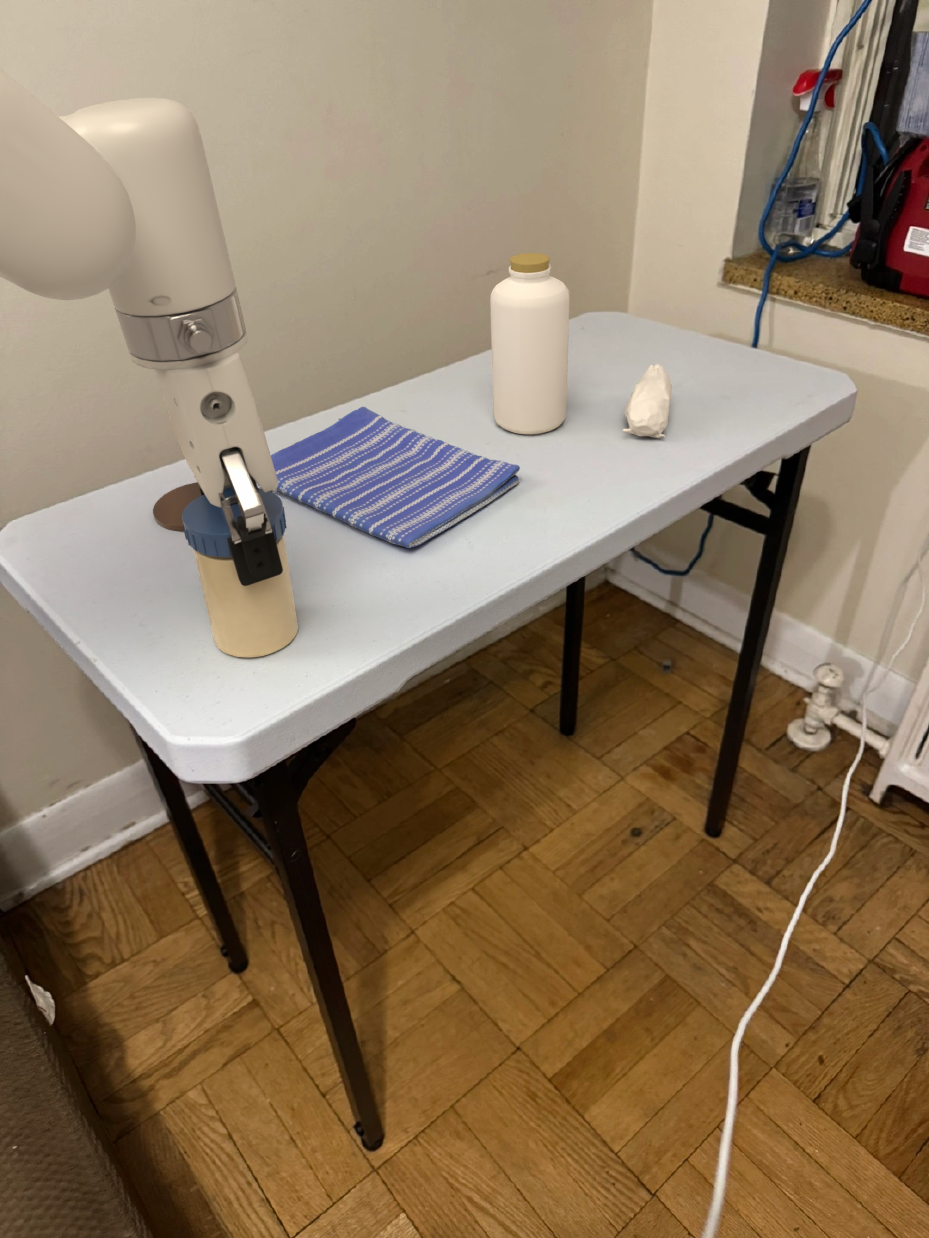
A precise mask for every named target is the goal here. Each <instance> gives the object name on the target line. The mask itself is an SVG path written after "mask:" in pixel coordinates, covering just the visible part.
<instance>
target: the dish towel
mask: <svg viewBox="0 0 929 1238" xmlns="http://www.w3.org/2000/svg"><path fill="white" fill-rule="evenodd" d="M270 455H271V458H272V462H273V465H274V469H275V473H276V476H277V480H278V487H277V489H276V490H275V491H277V492H280V493H282V494H284V495H286V496H288V497H290V498H291V499H294V500H297V501H298V502H299V503H302V504H306V505H308V506H309V507H312V508H314V509H316V510H317V511H319V512H322V513H325V514H327V515H330V516H331V517H333V518H334V519H337V520H339V521H341V522H344V523H346V524H348V525H349V526H351V527H353V528H355V529H358V530H360V531H362V532H365V533H367V534H369V535H370V536H373V537H376V538H379V539H380V540H382V541H386V542H388V543H390V544H394V545H397V546H400V547H403V548H405V549H406V548H407V549H410V548H415V547H418V546H420V545H422V544H424V543H425V542H427V541H429V540H431V539H433V538H434V537H436V536H437V535H439V534H441V533H443V532H445V531H446V530H448V529H449V528H451V527H453V526H454V525H456V524H458V523H459V522H460V521H462V520H464V519H466V518H467V517H469V516H471V515H472V514H474V513H475V512H477V511H478V510H480V509H482V508H483V507H485V506H487V505H488V504H490V503H491V502H493V501H494V500H495V499H497V498H498V497H500V496H502V495H503V494H505V493H506V492H508V490H510V489H512V488H513V487H515V486H516V485H518V484H519V483H520V478H519V476H518V475H517V474H518V472H519V471H520V470H521V467H520V465H519V464H513V463H509V462H508V461H507V462H506V461H504V460H498V459H497V460H496V459H489V458H487V457H486V456H482V455H478V454H475V453H473V452H470V451H468V450H467V449H464V448H462V447H459V446H455V445H452V444H449V442H446V441H443V440H442V439H435V438H433V437H432V436H430V435H426V434H423V433H422V432H421V433H420V432H417V431H416V430H414V429H411V428H407V427H405V426H401V425H400V424H399V423H395V422H392V421H391V420H388V419H386V418H385V417H383V415H380V414H378V413H377V412H374V411H372V410H370V409H369V408H367V406H361V407H359V408H357V409H355V410H352V411H350V412H349V413H348V414H346V415H344V416H343V417H342V418H340V419H339V420H338V421H336V422H335V423H333V424H332V425H330V426H328V427H327V428H324V429H323V430H321V431H317V432H316V433H314V434H311V435H310V436H308V437H305V438H303V439H301V440H299V441H297V442H295V443H293V444H292V445H289V446H287V447H285V448H282V449H280V450H278V451H276V452H274V453H271V454H270Z"/></svg>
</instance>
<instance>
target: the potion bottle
mask: <svg viewBox="0 0 929 1238" xmlns="http://www.w3.org/2000/svg"><path fill="white" fill-rule="evenodd" d="M550 260H551V257H550V256H549V255H548V254H545V253H540V252H523V253H518V254H515V255H513V256H511V257H510V258H509V263H510V265H509V267H508V273H509V275H510V276H508V277H506V278H504V279H503V280H502V281H500V282H499V283H497V284H496V285H495V286H494V287H493V289H492V291H491V293H490V298H489V303H490V304H489V306H490V307H489V308H490V309H489V310H490V333H491V334H490V338H491V370H492V372H491V373H492V375H491V376H492V403H493V405H492V407H493V418H494V420H495V422H496V424H497V425H498V426H500V427H501V428H502V429H504V430H505V431H508V432H511V433H512V434H513V433H514V434H520V435H539V434H544V433H548V432H551V431H553V430H554V429H557V428H559V426H561V425H562V423H563V422H564V421H565V420H566V418H567V410H568V409H567V407H568V372H569V371H568V370H569V369H568V368H569V336H570V335H569V333H570V299H571V298H570V295H571V294H570V290H569V288H568V287H567V285H566V284H565V283H564V282H563V281H562V280H560V279H558V278H556V277H554V276H552V275H550V273H551V270H552V265H551V264H550Z"/></svg>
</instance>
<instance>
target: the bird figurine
mask: <svg viewBox="0 0 929 1238" xmlns="http://www.w3.org/2000/svg"><path fill="white" fill-rule="evenodd" d="M672 386H673V385H672V380H671V378H670V376H669V374H668V373H667V371H666V369H665V367H663V365H662V364H659V363H658V362H657V363H656V364H655V365H654V364H650V365H649V366H648V368H646V371H645V372H644V373H643V375H642V376H641V377H640V379H639V380H638V381H637V382H636V385H635V386H634V387H633V390H632V392H631V394H630V396H629V398H628V400H627V402H626V405H625V407H624V416H625V418H626V421H627V424H628V428H623V429H622V432H624V433H628V434H630V435H634V436H638V437H650V438H653V439H660V438H664V437H666V435H665V434H664V433H663V431H665V430H666V428H667V426H668V421H669V415H670V406H671V401H672V400H671V399H672V393H673V392H672V390H673V387H672Z"/></svg>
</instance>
